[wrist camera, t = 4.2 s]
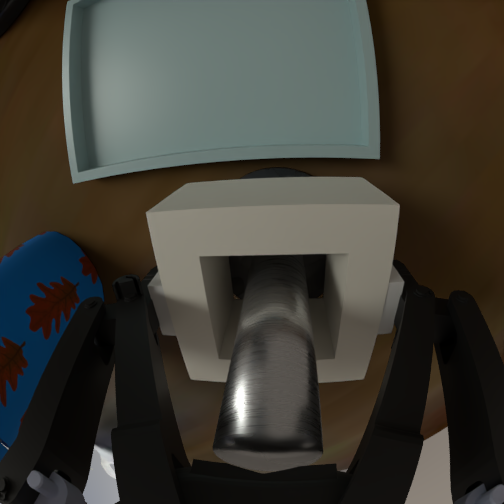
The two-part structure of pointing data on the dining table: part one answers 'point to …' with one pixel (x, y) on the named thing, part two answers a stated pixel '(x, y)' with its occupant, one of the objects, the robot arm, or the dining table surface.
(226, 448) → the stake
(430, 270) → the dining table surface
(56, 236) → the thermos
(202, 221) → the ring
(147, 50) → the tray
